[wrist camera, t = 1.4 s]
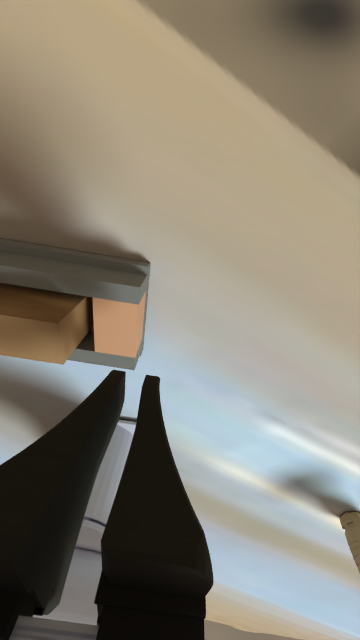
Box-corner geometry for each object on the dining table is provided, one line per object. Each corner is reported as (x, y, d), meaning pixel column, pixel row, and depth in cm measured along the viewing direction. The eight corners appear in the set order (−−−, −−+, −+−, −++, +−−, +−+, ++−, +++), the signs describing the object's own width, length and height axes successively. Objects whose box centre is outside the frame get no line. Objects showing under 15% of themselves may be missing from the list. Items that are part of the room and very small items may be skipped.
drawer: (94, 324, 19) (63, 364, 14) (-5, 308, 19) (-66, 344, 14) (92, 290, 17) (57, 323, 13) (-15, 273, 17) (-86, 301, 13)
